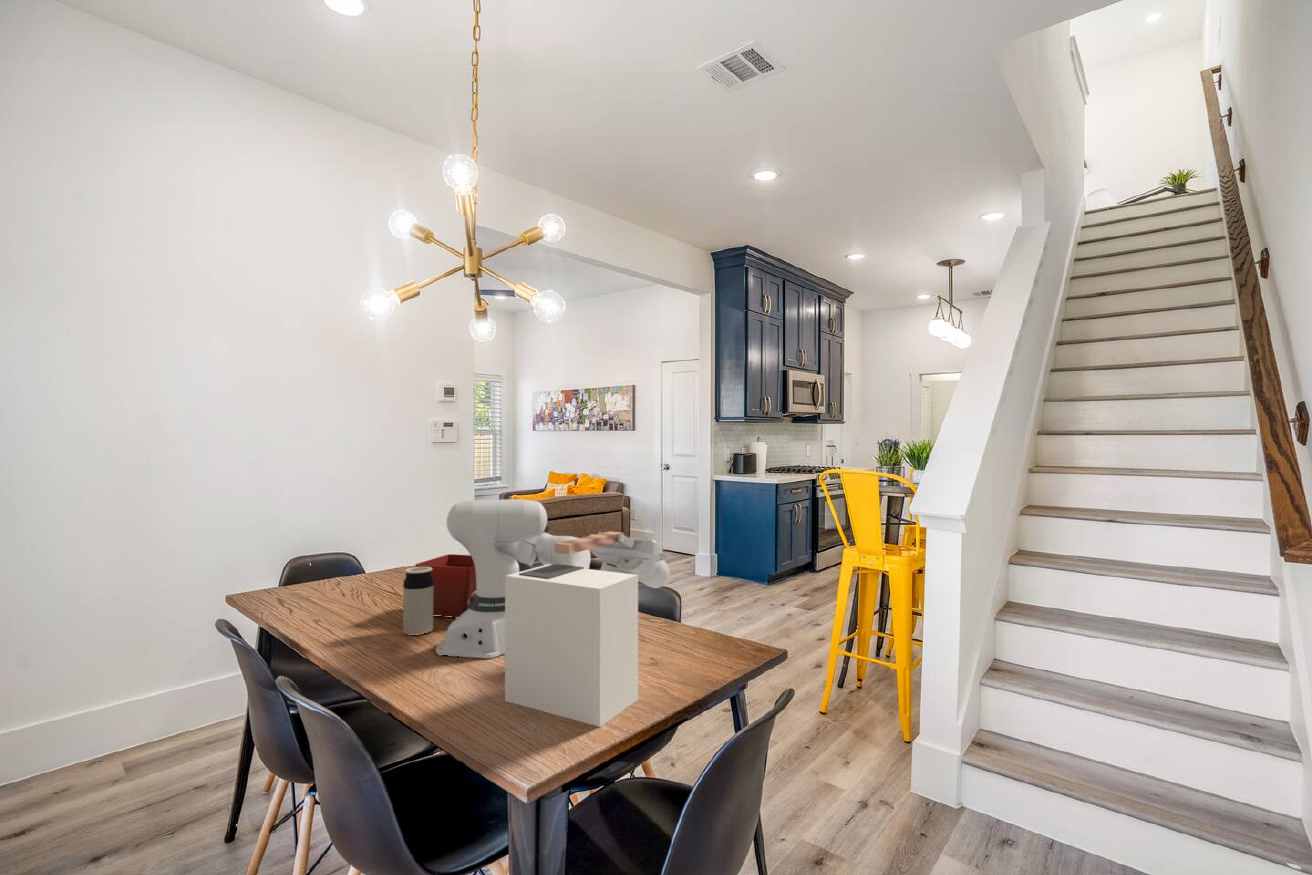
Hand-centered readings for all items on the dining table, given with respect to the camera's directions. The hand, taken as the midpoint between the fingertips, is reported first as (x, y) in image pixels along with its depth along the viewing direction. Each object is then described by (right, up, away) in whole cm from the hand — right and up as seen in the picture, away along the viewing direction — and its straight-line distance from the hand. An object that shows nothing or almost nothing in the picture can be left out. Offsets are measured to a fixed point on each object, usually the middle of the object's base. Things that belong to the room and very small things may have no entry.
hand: (609, 535), depth 147 cm
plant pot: (-52, -32, +44) cm, 75 cm away
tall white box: (-6, -31, -22) cm, 38 cm away
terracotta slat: (-4, -1, -7) cm, 8 cm away
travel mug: (-57, -32, +24) cm, 69 cm away
